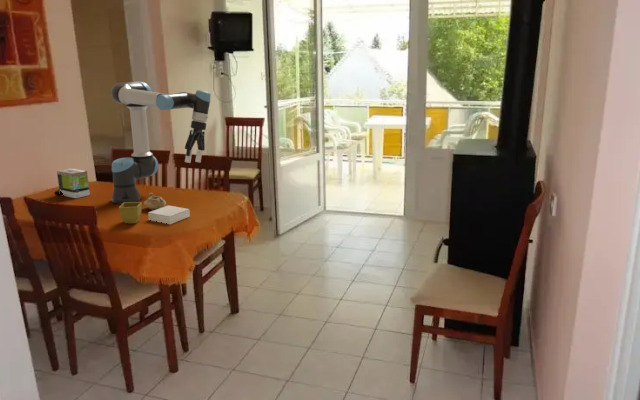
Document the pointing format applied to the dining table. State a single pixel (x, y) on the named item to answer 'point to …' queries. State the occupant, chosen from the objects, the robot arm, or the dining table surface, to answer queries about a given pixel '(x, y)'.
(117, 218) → the dining table surface
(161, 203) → the oil lamp
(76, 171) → the tea box
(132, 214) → the flower pot
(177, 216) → the plinth
